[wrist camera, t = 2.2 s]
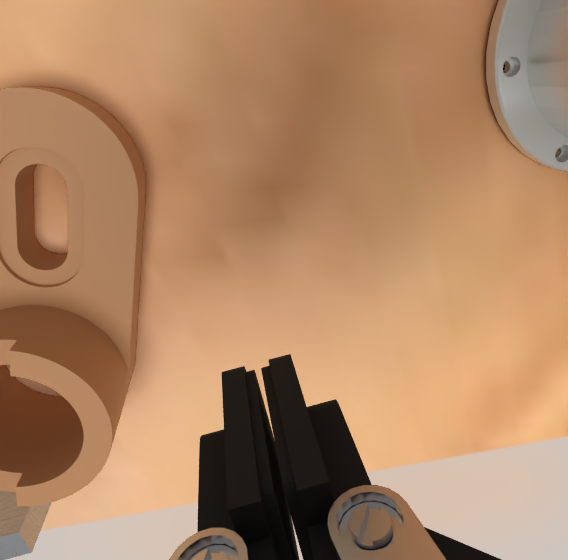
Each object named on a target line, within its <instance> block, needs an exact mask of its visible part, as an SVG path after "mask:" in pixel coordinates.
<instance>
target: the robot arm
mask: <svg viewBox="0 0 568 560" xmlns="http://www.w3.org/2000/svg"><path fill="white" fill-rule="evenodd" d="M504 63H505V70H504V71H503V65H504ZM486 80H487V86H488V92H489V98H490V103H491V105H492V108H493V111H494V114H495V116H496V119H497V122H498V124H499V125H500V127H501V128H502V130H503V131H504V133H505V135H506V136H507V138H508V139H509V141H510V142H511V143H512V144H513V145H514V146H515V147H516V148H517V149H519V150H520V151H521V152H522V153H523V154H524V155H525V156H527V157H529V158H531V159H532V160H534V161H536V162H537V163H539V164H541V165H545V166H548V167H551V168H554V169H558V170H562V171H568V0H499V1H498V4H497V7H496V10H495V13H494V16H493V19H492V22H491V27H490V33H489V39H488V44H487V50H486ZM269 365H270V366H267V367H263V368H261V369H262V375H263V380H264V386H265V391H266V396H267V402H268V407H269V412H270V418H271V423H272V428H273V433H272V430H271V426H270V423H269V419H268V416H267V412H266V409H265V405H264V401H263V398H262V394H261V391H260V387H259V384H258V380H257V377H256V373H255V370H252V371H248V372H246V369H245V367H244V366H243V367H240V368H236V369H232V370H228V371H224V372H222V391H223V413H224V430H220V431H217V432H213V433H209V434H206V435H202V436H201V438H200V454H199V494H198V533H196V534H194V535H192V536H191V537H189V538H188V539H186V540H185V541H184V542H183V543H182V544H181V545H180V546H179V547H178V548H177V549H176V550H175V552H174V553H173V555H172V556H171V558H170V559H169V560H299V556H298V551H297V545H296V541H295V536H294V530H293V524H294V528H295V531H296V535H297V538H298V542H299V545H300V549H301V552H302V556H303V559H304V560H501V559H499V558H496V557H494V556H491V555H489V554H487V553H484V552H482V551H479V550H477V549H475V548H472V547H470V546H468V545H465V544H463V543H460V542H458V541H456V540H453V539H451V538H449V537H446V536H444V535H442V534H439V533H437V532H434V531H432V530H430V529H427V528H425V527H423V525H422V524H421V522H420V521H419V519H418V518H417V517H416V515H415V514H414V512H413V511H412V509H411V508H410V507H409V505H408V504H407V502H406V501H405V500H404V499H403V498H402V497H401V496H400V495H399V494H397V493H396V492H394V491H392V490H391V489H389V488H385V487H382V486H378V485H371V482H370V480H369V477H368V475H367V472H366V470H365V468H364V465H363V463H362V460H361V458H360V455H359V453H358V450H357V448H356V446H355V443H354V441H353V438H352V436H351V433H350V431H349V428H348V426H347V424H346V421H345V419H344V416H343V414H342V411H341V409H340V406H339V404H338V402H337V400H336V399H335V400H331V401H328V402H324V403H320V404H317V405H313V406H309V407H306V404H305V401H304V397H303V394H302V391H301V388H300V384H299V381H298V378H297V374H296V371H295V368H294V365H293V361H292V358H291V355H290V354H289V355H285V356H281V357H278V358H274V359H270V360H269ZM273 434H274V437H273ZM274 439H275V441H274ZM291 517H292V519H291ZM292 521H293V524H292Z"/></svg>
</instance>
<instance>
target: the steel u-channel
mask: <svg viewBox="0 0 568 560" xmlns="http://www.w3.org/2000/svg"><path fill="white" fill-rule="evenodd" d="M50 505H51V502H50V503H47V504H41V505H36V506H26V507H25V506H17V500H16V492H8V491H1V490H0V560H5V559H9V558H12V557H16V556H20V555H24V554H28V553H31V552H32V550H33V548H34V545H35V543H36V540H37V538H38V535H39V533H40V530H41V528H42V525H43V523H44V520H45V517H46V515H47V512H48V510H49V507H50Z"/></svg>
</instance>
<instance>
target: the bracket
mask: <svg viewBox="0 0 568 560" xmlns="http://www.w3.org/2000/svg"><path fill="white" fill-rule="evenodd" d="M37 164H43V165H47V166H49V167H51V168H53V169H55V170H56V171H57V172H59V173H60V174H61V176H62V177H63V178H64V180H65V182H66V184H67V188H68V253H67V254H55V253H51V252H49V251H47V250H46V249H44V248H43V247H42V246H41V245H40V244H39V242H38V241H37V239H36V236H35V220H34V180H33V174H34V169H35V167H36V165H37ZM145 198H146V178H145V171H144V166H143V163H142V160H141V157H140V154H139V152H138V149H137V147H136V145H135V143H134V142H133V140H132V138H131V137H130V135H129V134H128V132H127V131H126V130H125V128H124V127H123V126H122V125H121V124H120V123H119V121H118V120H117V119H116V118H115V117H113V116H112V115H111V114H110V113H109V112H108V111H106V110H105V109H104V108H103V107H101V106H100V105H98V104H96V103H95V102H93V101H92V100H90V99H88V98H86V97H84V96H81V95H79V94H76V93H74V92H70V91H67V90H63V89H58V88H52V87H16V88H4V89H0V490H1V491H8V492H16V500H17V506H25V507H26V506H36V505H41V504H47V503H50V502H54V501H57V500H60V499H63V498H65V497H67V496H70V495H72V494H74V493H75V492H77V491H79V490H80V489H82V488H83V487H85V486H86V485H87V484H89V483H90V482H91V481H92V480H93V479H94V478H95V477H96V476H97V475H98V473H99V472H100V471H101V469H102V468H103V466H104V465H105V463H106V461H107V459H108V456H109V453H110V450H111V447H112V443H113V440H114V436H115V433H116V429H117V426H118V422H119V419H120V415H121V412H122V408H123V405H124V401H125V398H126V394H127V391H128V387H129V384H130V380H131V377H132V374H133V370H134V366H135V360H136V345H137V328H138V312H139V296H140V279H141V263H142V247H143V230H144V214H145ZM6 365H10V371H9V369H8V368H7V366H6ZM15 377H20V378H25V379H29V380H32V381H35V382H38V383H41V384H43V385H45V386H47V387H49V388H51V389H52V390H54V391H56V392H57V393H59V394H60V395H61V396H62V397H58V396H50V395H46V394H42V393H39V392H36V391H34V390H32V389H30V388H28V387H27V386H25V385H23V384H22V383H21V382H19V381H18V380H17V379H16V378H15Z"/></svg>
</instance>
